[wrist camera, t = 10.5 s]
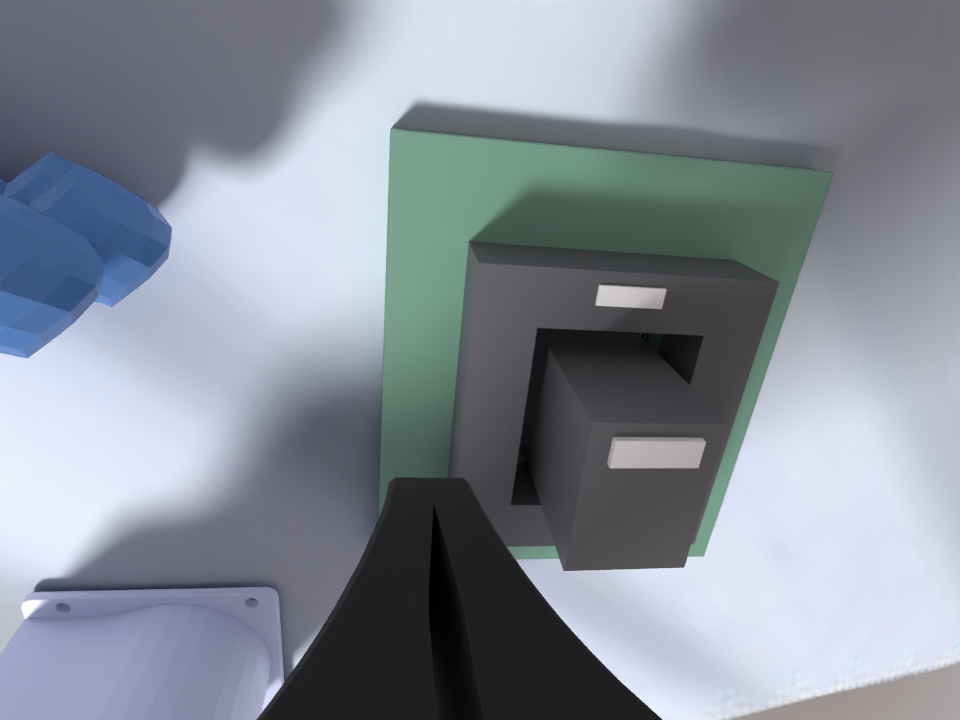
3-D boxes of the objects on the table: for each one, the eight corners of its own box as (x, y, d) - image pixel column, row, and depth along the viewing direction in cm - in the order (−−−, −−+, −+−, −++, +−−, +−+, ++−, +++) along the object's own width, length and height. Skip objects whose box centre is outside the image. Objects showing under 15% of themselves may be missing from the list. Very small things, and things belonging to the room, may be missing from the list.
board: (377, 543, 24) (374, 615, 20) (391, 127, 17) (388, 135, 14) (692, 540, 26) (735, 604, 22) (813, 169, 19) (896, 184, 16)
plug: (517, 435, 22) (565, 576, 16) (533, 320, 20) (594, 427, 14) (605, 436, 23) (687, 572, 16) (629, 324, 21) (732, 428, 14)
